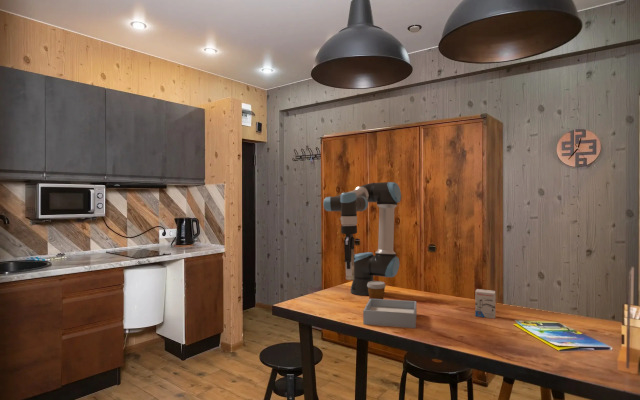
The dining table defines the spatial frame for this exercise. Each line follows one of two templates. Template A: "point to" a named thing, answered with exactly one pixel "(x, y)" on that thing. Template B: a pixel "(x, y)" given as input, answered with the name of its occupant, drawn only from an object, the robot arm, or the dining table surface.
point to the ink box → (485, 303)
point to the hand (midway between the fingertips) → (349, 274)
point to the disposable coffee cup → (376, 289)
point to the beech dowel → (352, 266)
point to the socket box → (390, 313)
